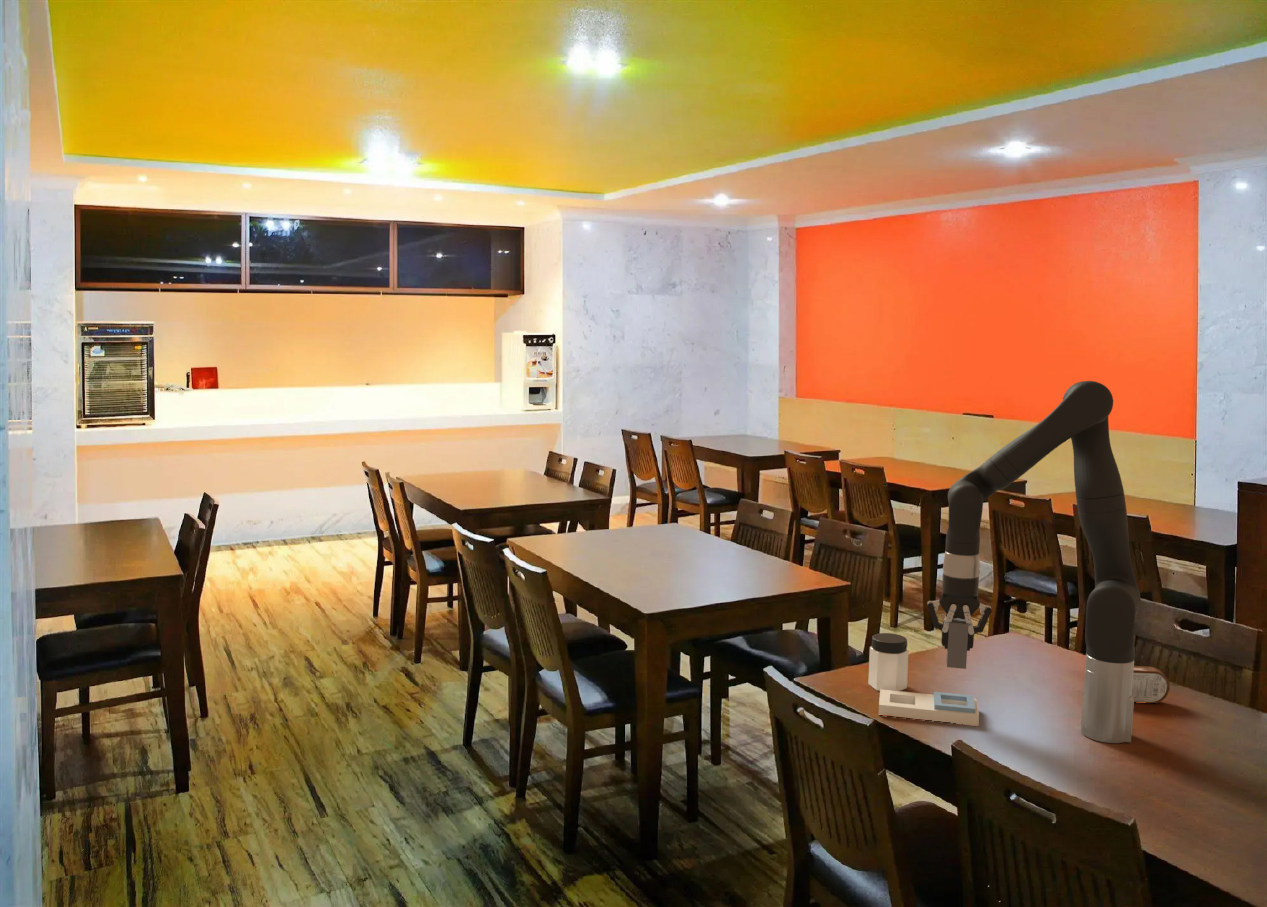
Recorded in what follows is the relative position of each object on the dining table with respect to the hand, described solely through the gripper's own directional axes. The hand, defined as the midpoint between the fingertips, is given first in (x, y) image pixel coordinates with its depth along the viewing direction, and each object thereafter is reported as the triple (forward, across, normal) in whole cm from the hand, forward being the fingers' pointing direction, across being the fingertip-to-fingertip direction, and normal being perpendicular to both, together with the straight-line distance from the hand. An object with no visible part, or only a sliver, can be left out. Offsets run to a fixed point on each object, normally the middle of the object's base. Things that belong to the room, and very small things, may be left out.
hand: (956, 648), depth 225 cm
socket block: (+15, +6, 0) cm, 16 cm away
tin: (+16, -40, -20) cm, 48 cm away
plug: (+4, 0, 0) cm, 4 cm away
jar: (+16, +14, -14) cm, 26 cm away
